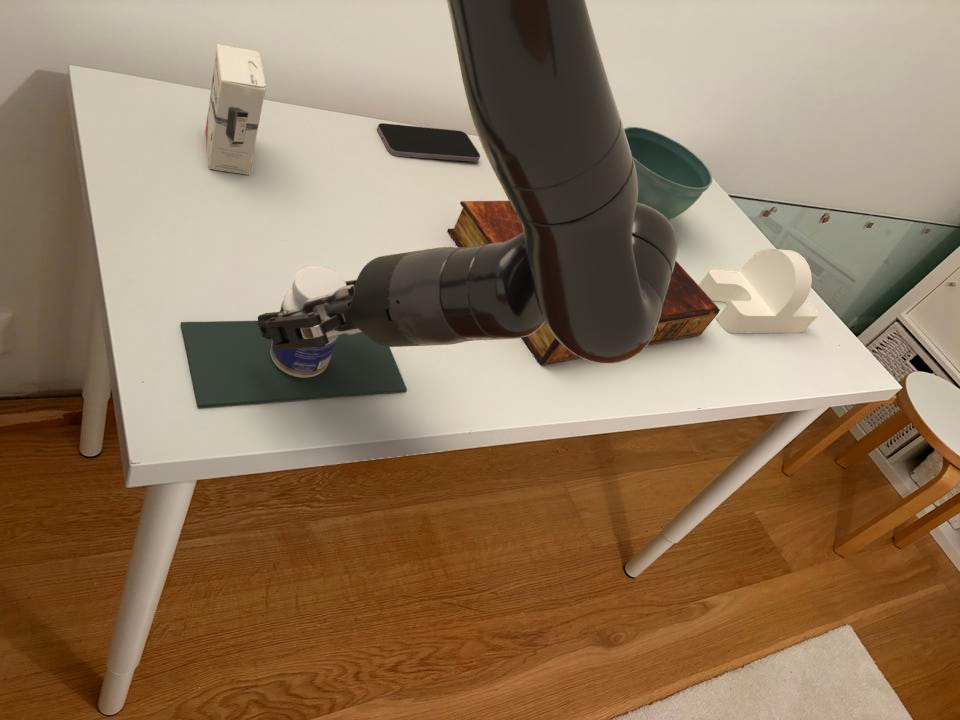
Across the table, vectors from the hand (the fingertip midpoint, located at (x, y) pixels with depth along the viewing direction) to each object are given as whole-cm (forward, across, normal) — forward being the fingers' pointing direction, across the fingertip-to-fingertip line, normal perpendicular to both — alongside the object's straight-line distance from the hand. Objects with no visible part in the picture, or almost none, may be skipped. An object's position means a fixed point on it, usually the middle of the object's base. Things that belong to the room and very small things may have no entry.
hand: (299, 309), depth 67 cm
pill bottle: (+3, 0, +5) cm, 6 cm away
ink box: (+25, -15, -16) cm, 33 cm away
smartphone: (+19, -46, -10) cm, 50 cm away
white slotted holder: (-17, -67, +26) cm, 74 cm away
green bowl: (0, -69, +8) cm, 69 cm away
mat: (+3, 0, +5) cm, 6 cm away
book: (-4, -42, +12) cm, 43 cm away
